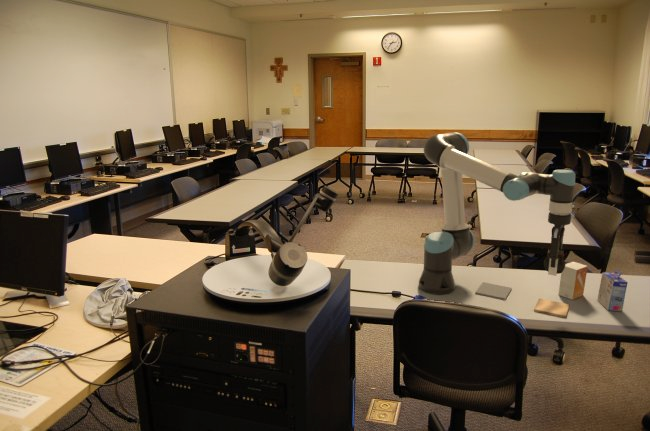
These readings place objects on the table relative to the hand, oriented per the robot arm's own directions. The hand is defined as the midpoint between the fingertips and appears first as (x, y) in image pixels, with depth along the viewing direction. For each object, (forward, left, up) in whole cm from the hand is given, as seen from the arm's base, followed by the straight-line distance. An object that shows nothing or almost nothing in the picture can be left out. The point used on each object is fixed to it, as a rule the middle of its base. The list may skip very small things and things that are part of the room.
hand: (553, 271), depth 181 cm
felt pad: (-22, +6, -16) cm, 28 cm away
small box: (+6, +18, -16) cm, 25 cm away
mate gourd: (0, 0, 0) cm, 1 cm away
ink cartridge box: (+20, +15, -16) cm, 29 cm away
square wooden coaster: (+1, +1, -16) cm, 16 cm away
